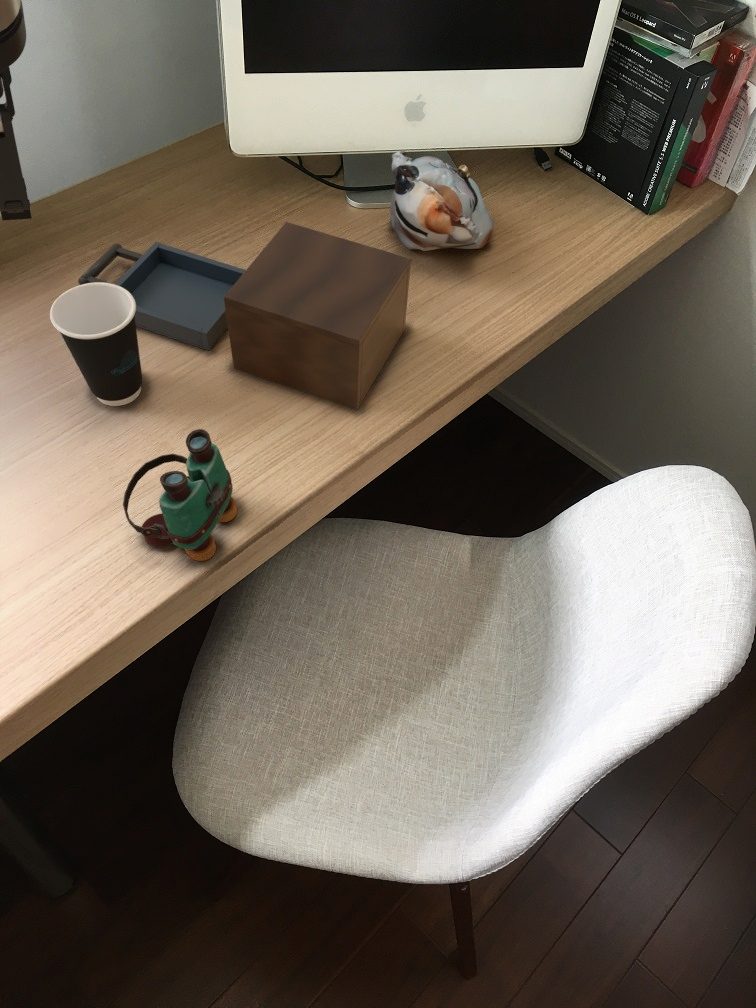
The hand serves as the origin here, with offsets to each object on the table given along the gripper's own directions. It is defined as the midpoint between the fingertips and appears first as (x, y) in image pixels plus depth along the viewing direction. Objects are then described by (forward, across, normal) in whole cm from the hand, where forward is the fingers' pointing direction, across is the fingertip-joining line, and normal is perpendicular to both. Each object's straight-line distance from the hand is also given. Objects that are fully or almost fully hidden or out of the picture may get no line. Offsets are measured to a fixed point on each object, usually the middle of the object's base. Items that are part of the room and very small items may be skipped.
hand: (2, 152), depth 79 cm
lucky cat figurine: (+7, -10, -50) cm, 51 cm away
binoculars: (-6, -41, -9) cm, 42 cm away
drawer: (+10, -13, -14) cm, 22 cm away
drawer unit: (+1, -24, -29) cm, 38 cm away
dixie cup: (+4, -25, -6) cm, 26 cm away
